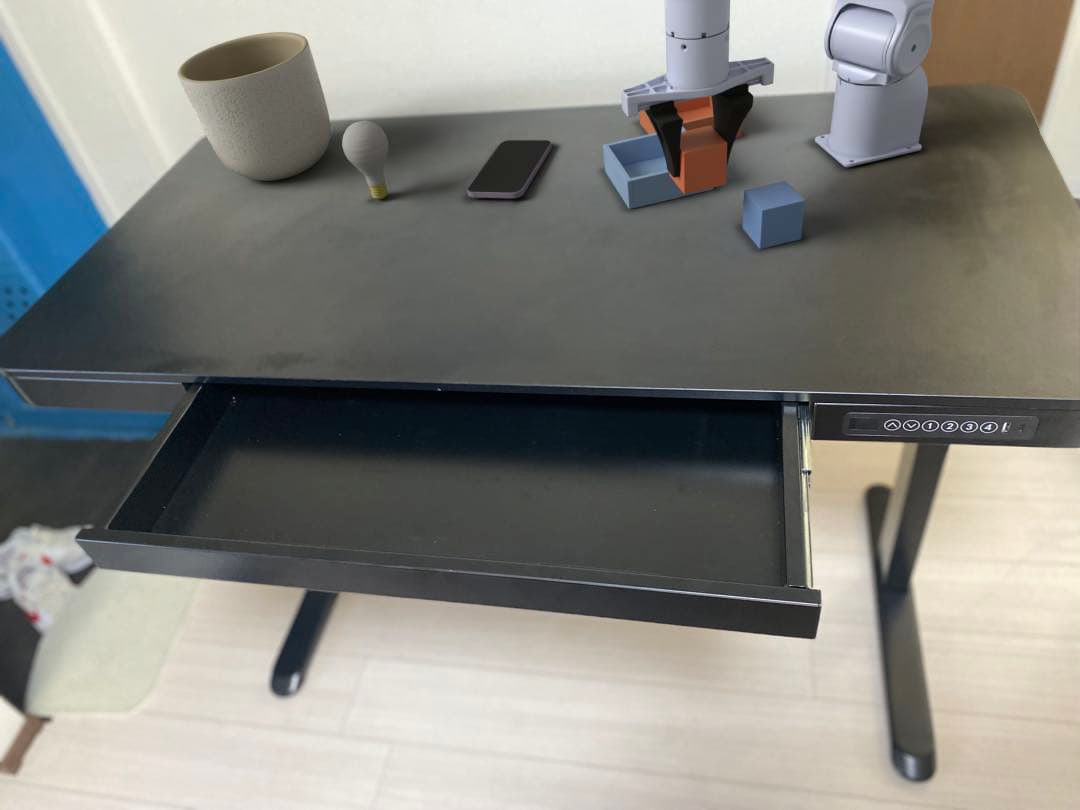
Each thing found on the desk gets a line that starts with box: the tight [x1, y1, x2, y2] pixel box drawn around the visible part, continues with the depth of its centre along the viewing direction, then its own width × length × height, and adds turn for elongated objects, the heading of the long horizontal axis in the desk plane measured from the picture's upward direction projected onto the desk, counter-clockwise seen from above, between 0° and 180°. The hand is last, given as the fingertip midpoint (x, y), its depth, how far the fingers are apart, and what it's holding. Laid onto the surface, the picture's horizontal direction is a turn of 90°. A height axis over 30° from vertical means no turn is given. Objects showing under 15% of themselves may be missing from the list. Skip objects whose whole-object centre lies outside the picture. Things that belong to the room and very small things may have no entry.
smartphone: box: [466, 139, 553, 199], centre depth 101 cm, size 7×1×15 cm
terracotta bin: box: [638, 96, 743, 139], centre depth 102 cm, size 10×10×4 cm
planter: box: [177, 31, 332, 182], centre depth 108 cm, size 17×17×15 cm
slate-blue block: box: [742, 180, 806, 250], centre depth 82 cm, size 4×4×4 cm
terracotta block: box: [669, 125, 728, 194], centre depth 80 cm, size 4×4×4 cm
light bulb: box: [341, 120, 389, 201], centre depth 98 cm, size 6×6×10 cm
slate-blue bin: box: [602, 127, 715, 210], centre depth 94 cm, size 10×10×4 cm
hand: (697, 167), depth 81 cm, fingers closed on terracotta block, 4 cm apart
